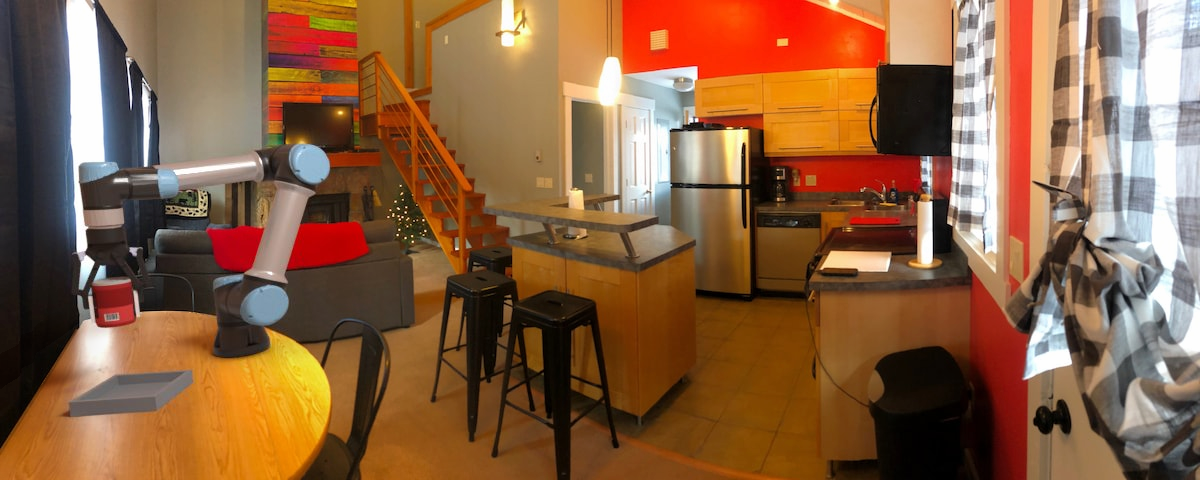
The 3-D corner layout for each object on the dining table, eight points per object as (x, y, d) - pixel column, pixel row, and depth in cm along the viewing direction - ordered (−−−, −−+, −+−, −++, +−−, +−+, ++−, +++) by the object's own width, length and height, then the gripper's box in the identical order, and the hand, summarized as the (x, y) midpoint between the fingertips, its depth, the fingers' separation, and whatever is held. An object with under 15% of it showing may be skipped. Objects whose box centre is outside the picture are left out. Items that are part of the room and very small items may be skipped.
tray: (193, 382, 164) (191, 369, 163) (156, 410, 146) (155, 396, 146) (117, 387, 161) (115, 374, 160) (70, 417, 143) (68, 402, 143)
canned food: (144, 321, 156) (139, 277, 154) (109, 329, 149) (103, 284, 147) (124, 318, 159) (119, 275, 157) (88, 326, 151) (83, 281, 150)
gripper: (157, 222, 159) (166, 309, 163) (49, 228, 147) (62, 322, 150) (158, 224, 154) (168, 315, 157) (46, 231, 141) (59, 329, 144)
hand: (116, 318), depth 154 cm, fingers closed on canned food, 8 cm apart
